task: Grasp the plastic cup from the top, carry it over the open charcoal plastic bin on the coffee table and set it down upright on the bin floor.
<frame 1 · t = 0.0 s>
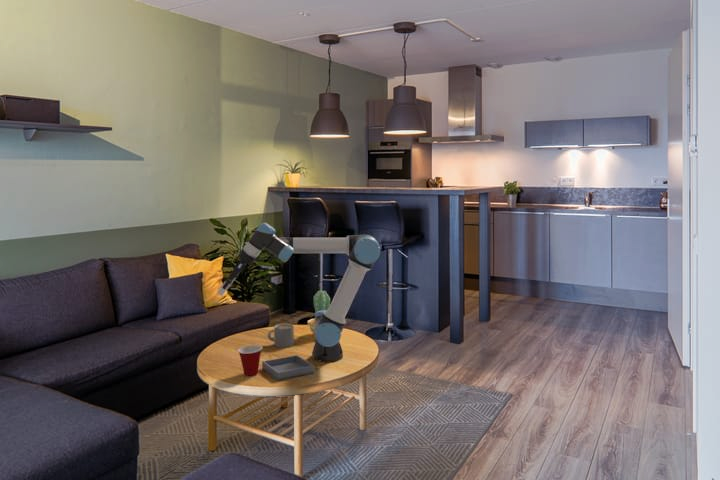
hand: (222, 291, 250), 36 cm above the table, tool tilted 35°, fingers open, 13 cm apart
bin: (287, 370, 251), on the table
potted cactus: (321, 335, 307), on the table
coffee mug: (281, 344, 290), on the table
plastic cup: (250, 374, 246), on the table
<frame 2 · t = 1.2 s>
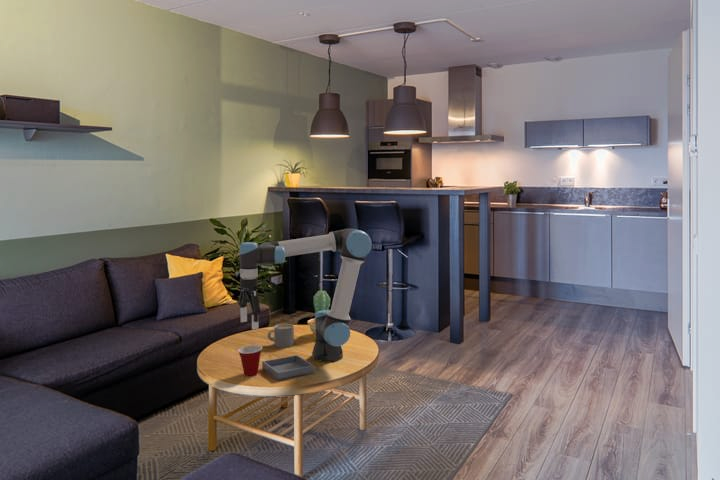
hand: (249, 325, 244), 22 cm above the table, tool pointing down, fingers open, 13 cm apart
nothing on the table moved.
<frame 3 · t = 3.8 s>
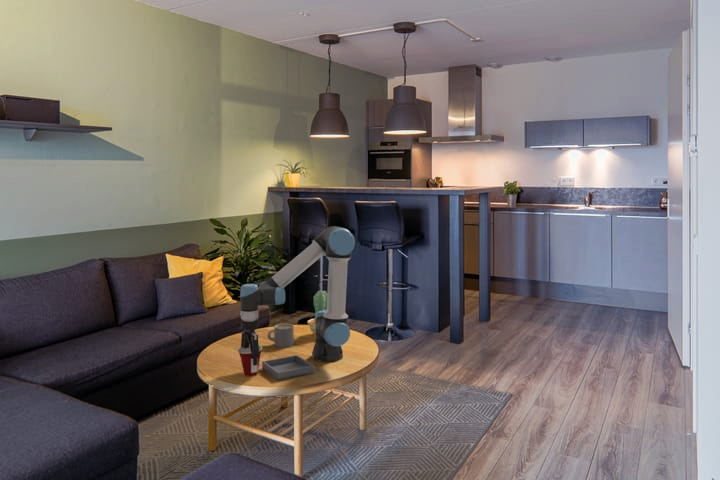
hand: (250, 368, 246), 3 cm above the table, tool pointing down, fingers closed on plastic cup, 9 cm apart
plastic cup: (250, 374, 246), on the table, touching gripper
everything else where it was.
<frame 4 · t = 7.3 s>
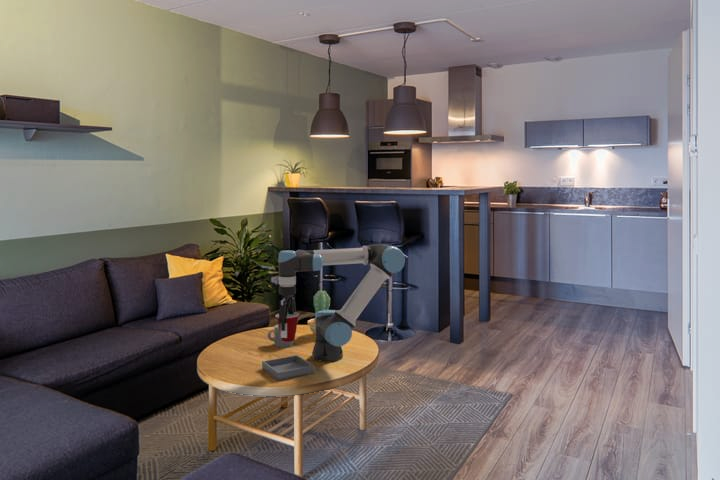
hand: (287, 334, 249), 17 cm above the table, tool pointing down, fingers closed on plastic cup, 9 cm apart
plastic cup: (287, 340, 249), point 14 cm above the table, touching gripper
everything else where it was.
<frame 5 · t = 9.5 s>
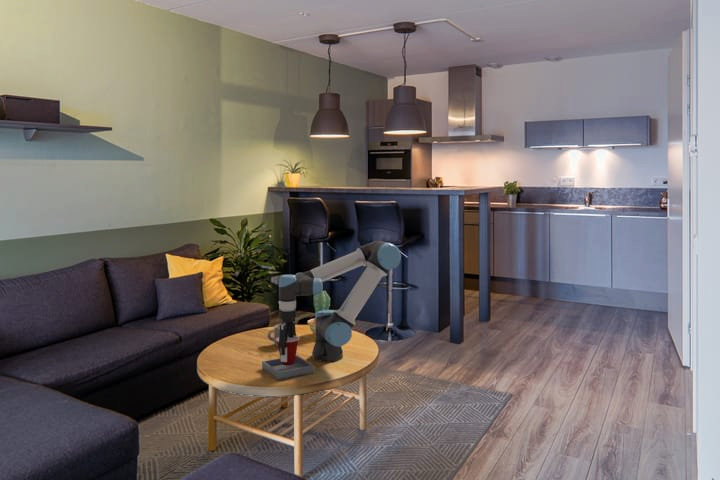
hand: (287, 358, 250), 6 cm above the table, tool pointing down, fingers closed on plastic cup, 9 cm apart
plastic cup: (287, 363, 250), point 3 cm above the table, touching gripper
everything else where it was.
when the fingers open (4 cm above the table, at t = 11.1 s): plastic cup stays where it is, resting on bin.
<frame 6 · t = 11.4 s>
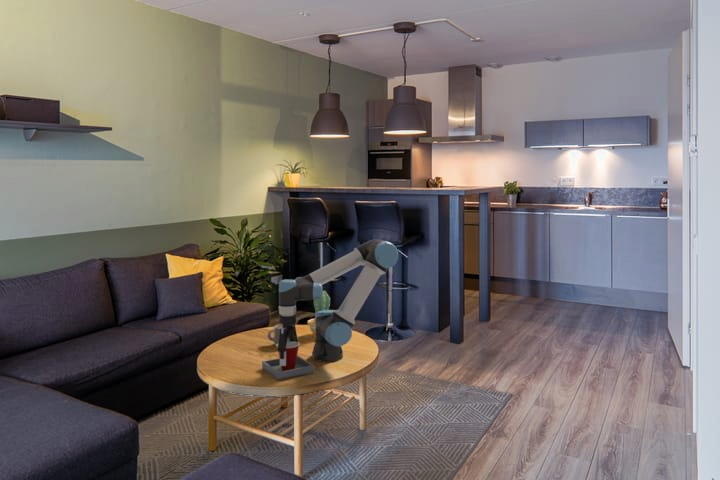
hand: (287, 360, 250), 5 cm above the table, tool pointing down, fingers open, 12 cm apart
plastic cup: (288, 369, 250), point 1 cm above the table, touching bin
everything else where it was.
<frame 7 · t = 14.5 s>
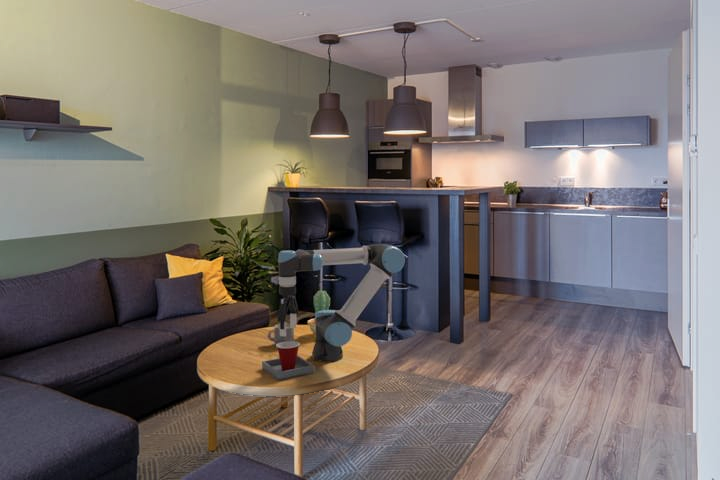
hand: (288, 331, 249), 18 cm above the table, tool pointing down, fingers open, 13 cm apart
nothing on the table moved.
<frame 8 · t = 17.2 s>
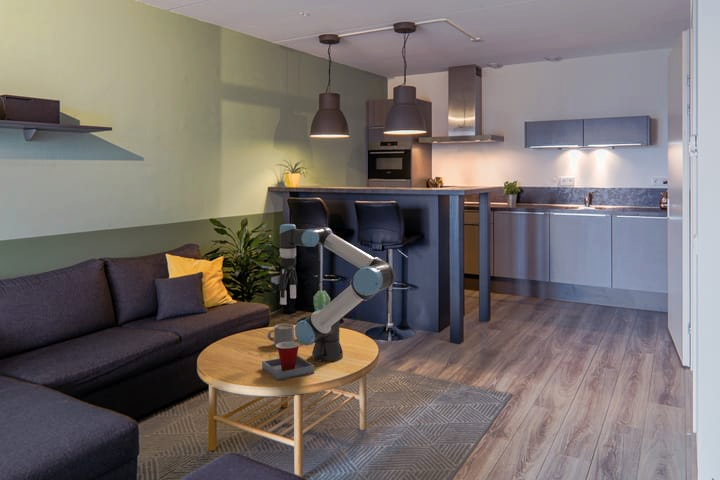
hand: (288, 301, 263), 29 cm above the table, tool pointing down, fingers open, 13 cm apart
nothing on the table moved.
at the end: plastic cup inside the target area on the bin (0.1 cm from its centre), point 0.6 cm above the bin's base; plastic cup tilted 0°; the gripper is holding nothing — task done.
